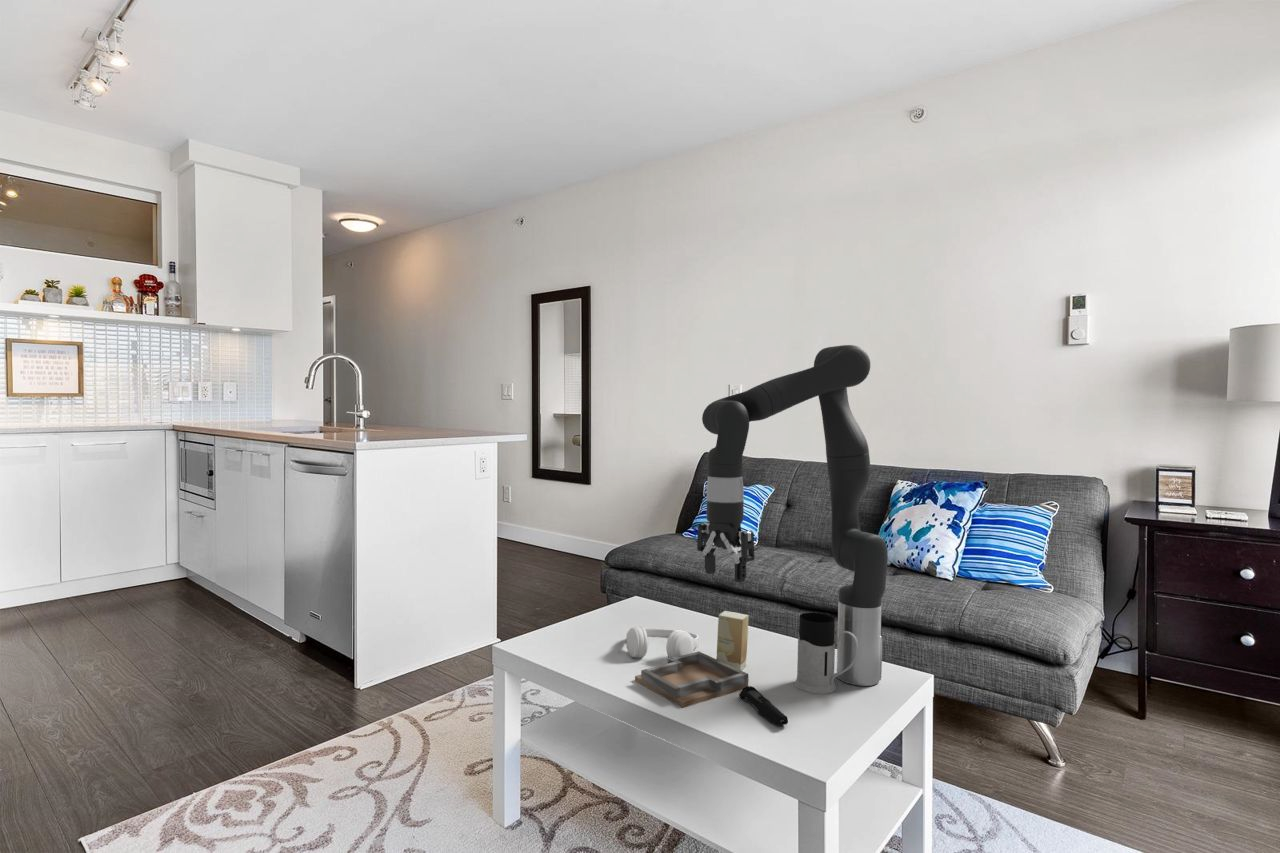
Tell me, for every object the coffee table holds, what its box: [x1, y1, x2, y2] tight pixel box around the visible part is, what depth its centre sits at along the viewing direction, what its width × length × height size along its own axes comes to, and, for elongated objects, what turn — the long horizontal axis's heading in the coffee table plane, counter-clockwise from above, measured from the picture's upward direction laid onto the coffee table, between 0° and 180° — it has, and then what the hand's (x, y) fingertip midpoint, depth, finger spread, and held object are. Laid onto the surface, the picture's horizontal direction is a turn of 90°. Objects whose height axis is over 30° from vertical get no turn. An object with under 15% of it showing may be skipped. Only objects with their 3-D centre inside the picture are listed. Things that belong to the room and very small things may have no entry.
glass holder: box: [794, 612, 858, 695], centre depth 145 cm, size 9×14×15 cm, turn 42°
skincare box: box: [715, 610, 750, 671], centre depth 157 cm, size 6×4×12 cm
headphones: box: [625, 626, 700, 659], centre depth 168 cm, size 7×18×20 cm
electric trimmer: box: [738, 685, 789, 726], centre depth 133 cm, size 4×16×3 cm, turn 18°
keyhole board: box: [634, 651, 749, 708], centre depth 146 cm, size 18×16×3 cm
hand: (724, 577), depth 137 cm, fingers open, 8 cm apart
